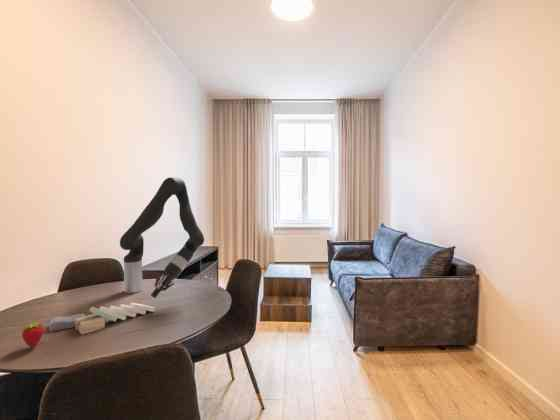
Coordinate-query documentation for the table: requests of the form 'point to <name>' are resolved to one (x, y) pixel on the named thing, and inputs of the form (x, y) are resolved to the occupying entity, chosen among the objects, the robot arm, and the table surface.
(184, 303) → the table surface
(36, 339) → the strawberry
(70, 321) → the stone block
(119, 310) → the domino
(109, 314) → the domino
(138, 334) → the table surface
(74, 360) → the table surface
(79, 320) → the stop block
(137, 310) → the domino
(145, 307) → the domino
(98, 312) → the domino
